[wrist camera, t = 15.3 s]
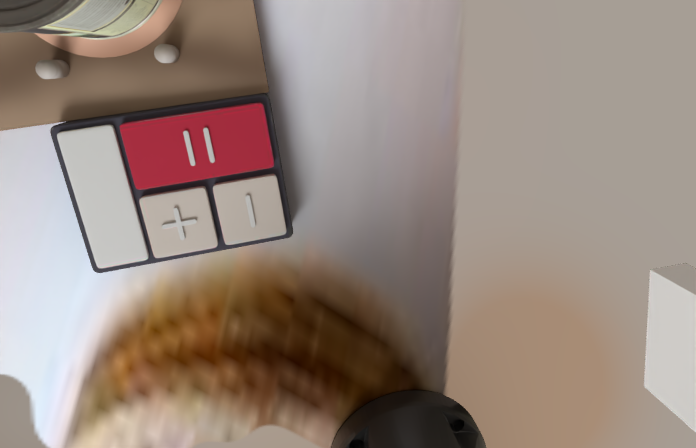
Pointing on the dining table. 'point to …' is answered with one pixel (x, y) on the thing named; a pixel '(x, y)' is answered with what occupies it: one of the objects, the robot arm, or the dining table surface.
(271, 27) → the dining table surface
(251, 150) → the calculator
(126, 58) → the pin board
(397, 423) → the robot arm
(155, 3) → the coffee can
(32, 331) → the dining table surface
